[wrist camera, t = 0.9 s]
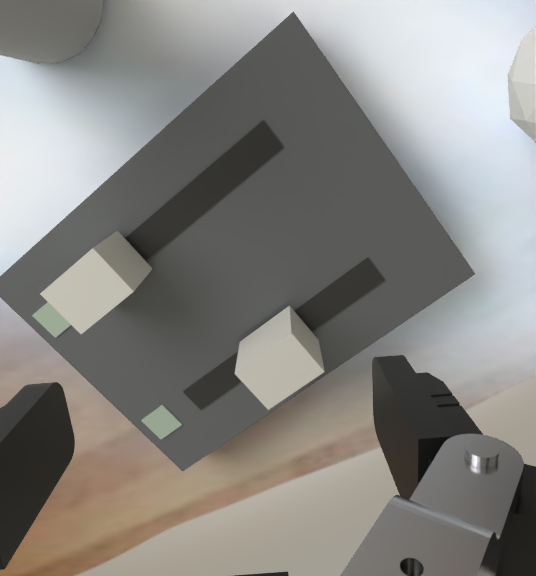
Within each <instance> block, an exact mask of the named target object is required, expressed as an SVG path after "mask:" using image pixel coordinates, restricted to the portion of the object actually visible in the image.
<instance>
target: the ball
mask: <svg viewBox="0 0 536 576" xmlns="http://www.w3.org/2000/svg"><path fill="white" fill-rule="evenodd" d="M508 91H509V108H510V119H511V120H512V121H513V122H514V123H516V124H517V125H518V126H519V127H520V128H521V129H522V130H523V131H524V132H525V133H526V134H527V135H528V136H529V137H531V138H532V139H533V140H534V141H535V142H536V27H535V28H534V29H533V30H531V31H530V32H529V33H528V34H527V35H526V36H525V37H524V38H523V39H522V40H521V42H520V45H519V47H518V50H517V52H516V55H515V57H514V60H513V62H512V65H511V67H510V70H509V72H508Z"/></svg>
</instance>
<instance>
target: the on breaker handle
mask: <svg viewBox="0 0 536 576" xmlns="http://www.w3.org/2000/svg"><path fill="white" fill-rule="evenodd" d="M151 270H152V267H151V266H150V265H149V264H148V263H147V262H146V261H145V260H144V259H143V258H142V257H141V255H140V254H139V253H138V252H137V251H136V250H135V249H134V248H133V247H132V246H131V245H130V243H129V242H128V241H127V240H126V239H125V238H124V237H123V236H122V235H121V234H120V233H119V232H118V231H116V232H115V233H113V234H112V235H110V236H109V237H108V238H106V239H105V240H103V241H102V242H101V243H99V244H98V245H96V246H95V247H94V248H92V249H91V250H90V251H89V252H88V253H86V254H85V255H84V256H83V257H82V258H81V259H80V260H78V261H77V262H76V263H75V264H74V265H73V266H71V267H70V268H69V269H68V270H67V271H66V272H64V273H63V274H62V275H61V276H60V277H59V278H58V279H56V280H55V281H54V282H53V283H52V284H51V285H49V286H48V287H47V288H46V289H45V290H44V291H43V292H41V293H40V295H41V296H42V297H43V298H44V299H45V300H46V301H47V302H49V303H50V304H51V305H52V306H53V307H54V308H55V309H56V310H57V311H58V312H59V313H60V314H61V315H62V316H63V317H64V318H65V319H66V320H67V321H68V322H69V323H70V324H71V325H72V326H73V327H74V328H75V329H76V330H77V331H78V332H79V333H80V334H82V333H84V332H85V331H86V330H87V329H88V328H90V327H91V326H92V325H93V324H95V323H96V322H97V321H98V320H100V319H101V318H102V317H103V316H104V315H106V314H107V313H108V312H109V311H111V310H112V309H113V308H114V307H116V306H117V305H118V304H119V303H120V302H122V301H123V300H124V299H125V298H127V297H128V296H129V295H130V294H131V293H133V292H134V291H135V290H136V288H137V287H138V286H139V285H140V284H141V282H142V281H143V280H144V279H145V277H146V276H147V275H148V274H149V273H150V271H151Z"/></svg>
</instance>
